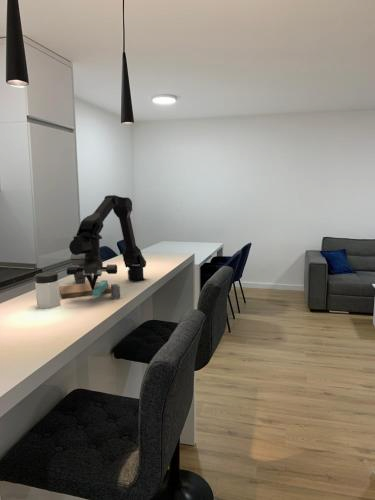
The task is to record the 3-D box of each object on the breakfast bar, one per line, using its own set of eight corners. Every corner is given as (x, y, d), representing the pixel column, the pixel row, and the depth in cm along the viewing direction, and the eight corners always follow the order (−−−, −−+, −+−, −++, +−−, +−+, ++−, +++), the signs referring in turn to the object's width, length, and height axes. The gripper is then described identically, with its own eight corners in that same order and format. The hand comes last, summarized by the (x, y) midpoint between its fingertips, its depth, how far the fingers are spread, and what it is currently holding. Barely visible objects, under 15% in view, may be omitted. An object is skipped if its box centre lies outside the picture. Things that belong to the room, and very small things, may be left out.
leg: (101, 286, 169) (101, 280, 168) (108, 285, 168) (108, 280, 168) (92, 296, 153) (92, 289, 152) (99, 296, 153) (99, 289, 152)
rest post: (117, 294, 163) (116, 283, 162) (120, 298, 157) (119, 287, 157) (111, 295, 162) (110, 284, 161) (114, 299, 156) (113, 287, 156)
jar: (62, 306, 149) (59, 274, 147) (38, 310, 145) (35, 277, 143) (58, 300, 157) (55, 270, 155) (36, 304, 153) (33, 273, 151)
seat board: (106, 285, 179) (106, 281, 179) (111, 292, 166) (111, 288, 166) (59, 291, 172) (59, 286, 172) (61, 299, 159) (61, 294, 159)
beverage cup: (84, 284, 182) (80, 241, 179) (69, 284, 184) (66, 241, 181) (91, 281, 189) (88, 239, 186) (76, 280, 191) (73, 239, 188)
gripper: (63, 254, 146) (64, 296, 148) (115, 254, 148) (116, 295, 150) (68, 250, 157) (69, 289, 159) (117, 250, 159) (117, 288, 161)
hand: (93, 291), depth 157 cm, fingers closed
